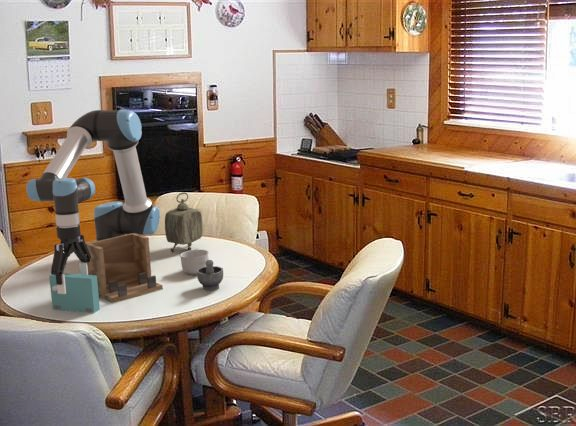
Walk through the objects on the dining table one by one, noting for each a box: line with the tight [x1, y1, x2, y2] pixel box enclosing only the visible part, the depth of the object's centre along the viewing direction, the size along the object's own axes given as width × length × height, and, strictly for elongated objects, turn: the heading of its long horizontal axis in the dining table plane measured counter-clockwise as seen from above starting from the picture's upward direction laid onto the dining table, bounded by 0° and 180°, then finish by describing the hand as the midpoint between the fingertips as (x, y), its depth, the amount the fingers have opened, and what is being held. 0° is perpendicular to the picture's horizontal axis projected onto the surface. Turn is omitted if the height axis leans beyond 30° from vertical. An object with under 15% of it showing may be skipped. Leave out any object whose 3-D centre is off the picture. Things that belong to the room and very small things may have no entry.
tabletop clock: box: [164, 192, 204, 253], centre depth 319 cm, size 14×9×25 cm, turn 144°
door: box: [48, 272, 101, 314], centre depth 252 cm, size 5×16×12 cm, turn 73°
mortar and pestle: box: [196, 259, 224, 292], centre depth 270 cm, size 11×9×12 cm
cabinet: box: [85, 233, 164, 304], centre depth 270 cm, size 17×20×18 cm
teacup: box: [179, 248, 210, 276], centre depth 291 cm, size 14×11×8 cm
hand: (73, 287), depth 252 cm, fingers open, 13 cm apart
